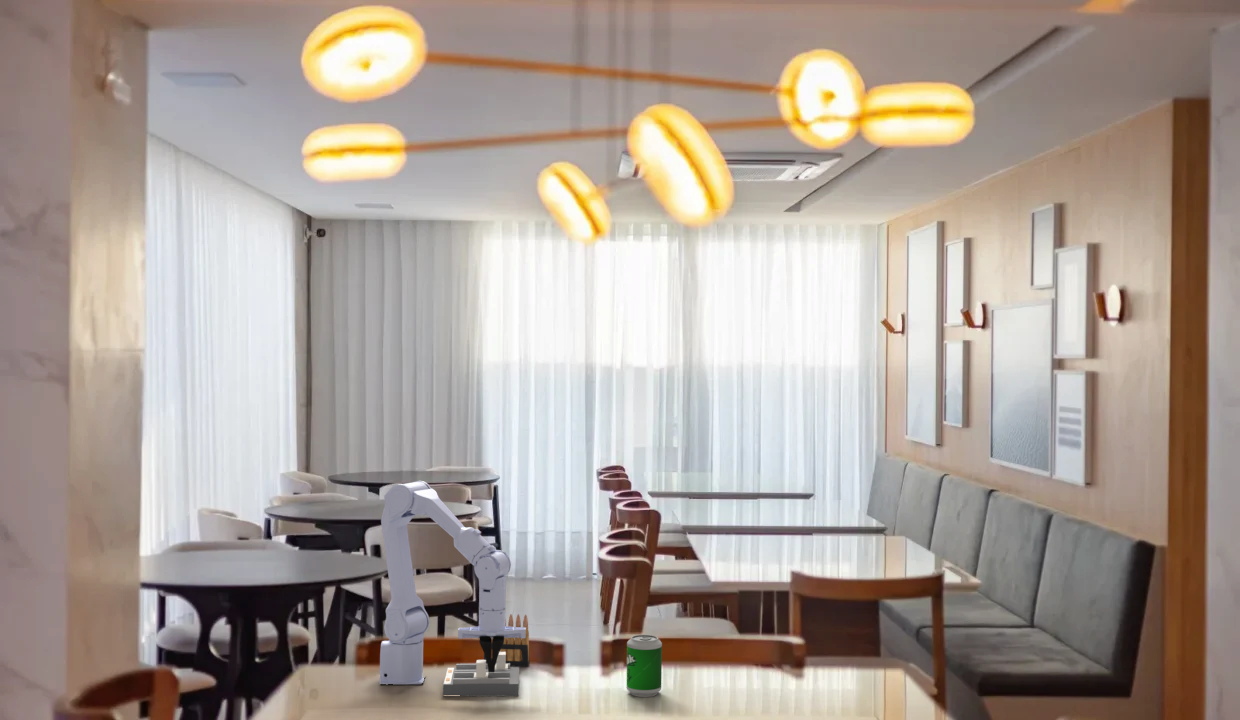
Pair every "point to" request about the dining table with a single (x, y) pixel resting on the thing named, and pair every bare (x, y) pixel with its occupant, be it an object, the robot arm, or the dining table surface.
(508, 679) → the switch bank
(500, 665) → the tab far
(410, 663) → the robot arm
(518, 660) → the ammunition clip
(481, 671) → the tab near
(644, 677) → the soda can
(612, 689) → the dining table surface
